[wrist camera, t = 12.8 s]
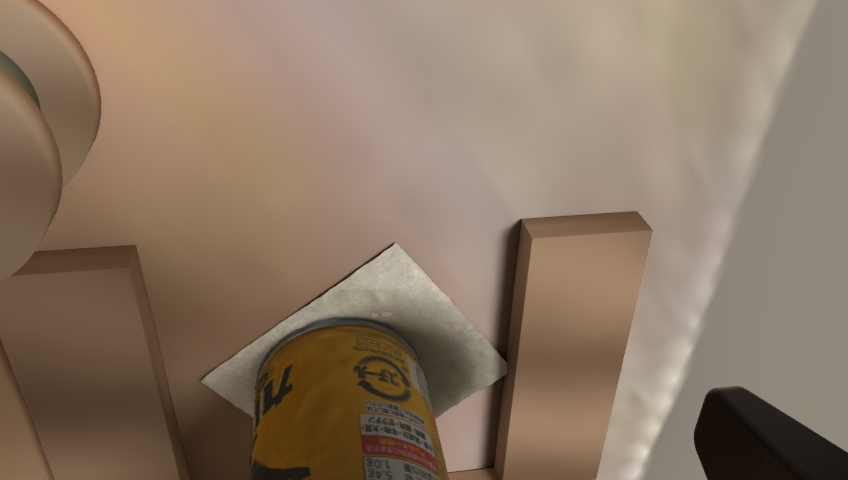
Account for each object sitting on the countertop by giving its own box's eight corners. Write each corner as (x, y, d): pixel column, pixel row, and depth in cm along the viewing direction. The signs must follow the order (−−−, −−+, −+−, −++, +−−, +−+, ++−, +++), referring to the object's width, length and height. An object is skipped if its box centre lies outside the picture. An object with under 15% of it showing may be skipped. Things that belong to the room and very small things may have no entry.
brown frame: (572, 516, 32) (582, 539, 31) (109, 578, 29) (103, 606, 28) (637, 211, 24) (652, 230, 23) (-8, 255, 21) (-23, 278, 20)
